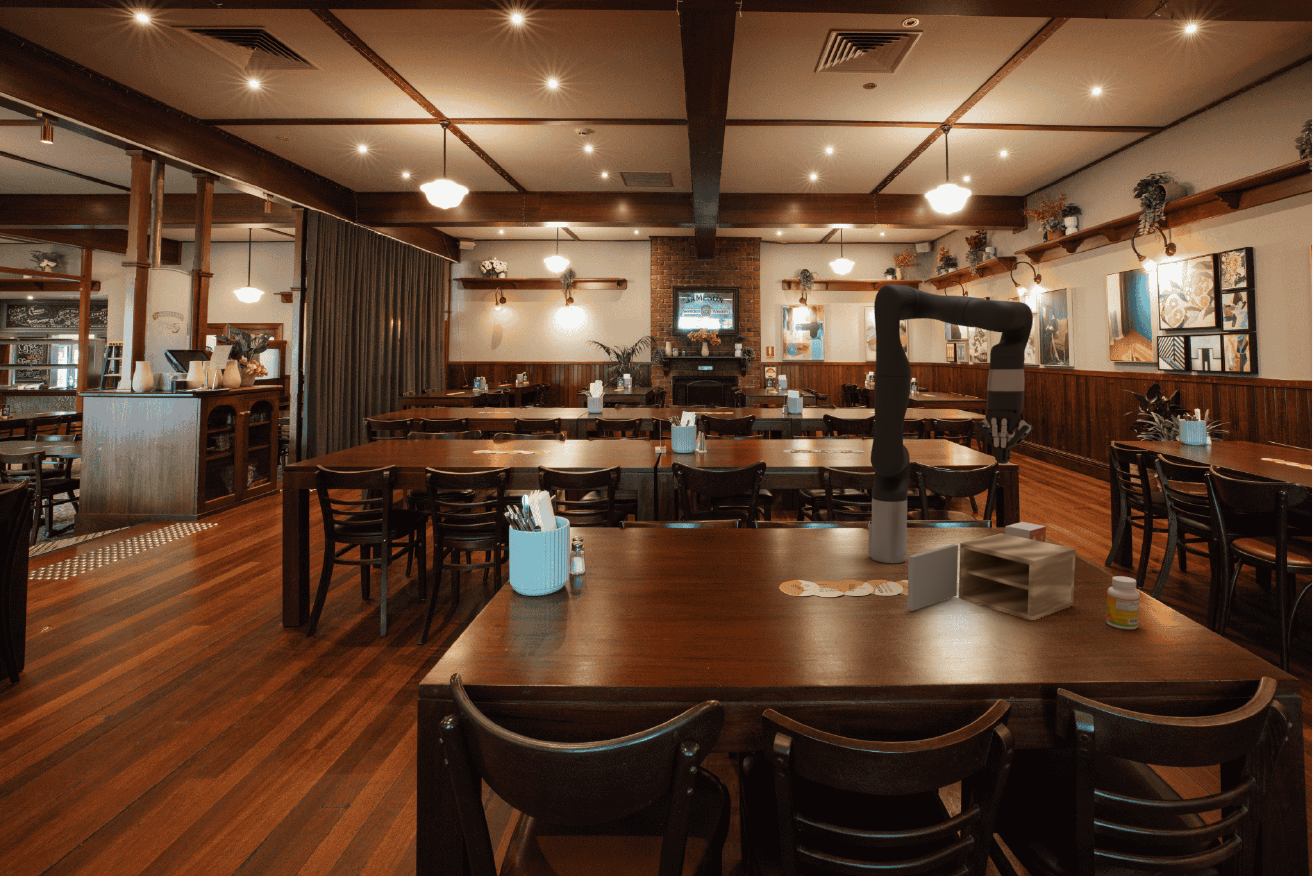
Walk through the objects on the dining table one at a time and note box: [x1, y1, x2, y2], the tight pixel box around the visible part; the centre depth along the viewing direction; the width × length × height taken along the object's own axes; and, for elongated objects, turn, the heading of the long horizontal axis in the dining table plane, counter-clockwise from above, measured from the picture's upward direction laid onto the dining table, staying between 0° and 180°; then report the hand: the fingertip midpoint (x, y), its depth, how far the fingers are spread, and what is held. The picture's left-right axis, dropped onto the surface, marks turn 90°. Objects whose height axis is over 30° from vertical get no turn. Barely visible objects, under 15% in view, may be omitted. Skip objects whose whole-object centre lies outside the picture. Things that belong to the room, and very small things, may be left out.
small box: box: [1004, 521, 1047, 543], centre depth 166 cm, size 8×6×13 cm
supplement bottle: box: [1105, 575, 1141, 630], centre depth 134 cm, size 5×5×10 cm
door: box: [906, 543, 959, 612], centre depth 148 cm, size 16×2×12 cm, turn 122°
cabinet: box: [958, 532, 1077, 621], centre depth 148 cm, size 17×16×13 cm
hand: (1002, 463), depth 153 cm, fingers closed
